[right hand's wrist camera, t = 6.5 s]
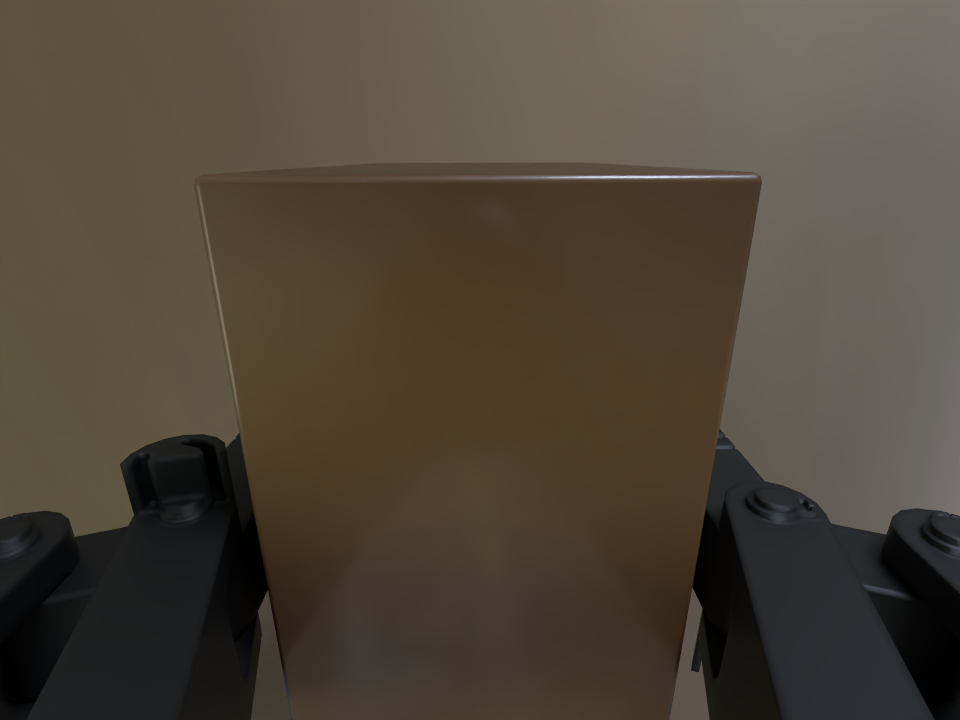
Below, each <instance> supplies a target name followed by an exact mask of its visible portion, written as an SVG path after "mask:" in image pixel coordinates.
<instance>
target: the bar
mask: <svg viewBox="0 0 960 720" xmlns="http://www.w3.org/2000/svg"><path fill="white" fill-rule="evenodd" d="M761 184H762V182H761V177H760V175H758V174H756V173H753V172H738V171H720V170H703V169H685V168H668V167H650V166H632V165H615V164H597V163H388V164H361V165H346V166H330V167H315V168H300V169H284V170H269V171H253V172H238V173H223V174H207V175H201V176H199V177H197V178H196V179H195V184H194V187H195V192H196V198H197V203H198V209H199V214H200V220H201V225H202V230H203V236H204V241H205V247H206V252H207V258H208V263H209V269H210V274H211V280H212V285H213V291H214V296H215V302H216V307H217V313H218V318H219V323H220V329H221V334H222V340H223V345H224V351H225V356H226V362H227V367H228V373H229V378H230V384H231V389H232V395H233V400H234V406H235V411H236V416H237V422H238V427H239V433H240V438H241V444H242V449H243V455H244V460H245V466H246V471H247V477H248V482H249V488H250V493H251V499H252V504H253V509H254V515H255V520H256V526H257V531H258V537H259V542H260V548H261V553H262V559H263V564H264V570H265V575H266V581H267V586H268V592H269V597H270V602H271V608H272V613H273V619H274V624H275V630H276V635H277V641H278V646H279V652H280V657H281V663H282V668H283V674H284V679H285V685H286V690H287V695H288V701H289V706H290V712H291V717H292V720H669V719H670V713H671V707H672V701H673V695H674V690H675V684H676V678H677V672H678V666H679V660H680V655H681V649H682V643H683V637H684V631H685V626H686V620H687V614H688V608H689V602H690V597H691V591H692V585H693V579H694V573H695V567H696V562H697V556H698V550H699V544H700V538H701V533H702V527H703V521H704V515H705V509H706V504H707V498H708V492H709V486H710V480H711V474H712V469H713V463H714V457H715V451H716V445H717V440H718V434H719V428H720V422H721V416H722V411H723V405H724V399H725V393H726V387H727V381H728V376H729V370H730V364H731V358H732V352H733V347H734V341H735V335H736V329H737V323H738V318H739V312H740V306H741V300H742V294H743V288H744V283H745V277H746V271H747V265H748V259H749V254H750V248H751V242H752V236H753V230H754V225H755V219H756V213H757V207H758V201H759V195H760V190H761Z"/></svg>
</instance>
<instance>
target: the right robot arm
mask: <svg viewBox="0 0 960 720" xmlns="http://www.w3.org/2000/svg"><path fill="white" fill-rule="evenodd" d="M120 466H121V470H122V474H123V477H124V481H125V484H126V488H127V491H128V495H129V498H130V502H131V505H132V509H133V512H134V516H133V518H132V520H131V522H130V524H129V526H127V527H123V528H119V529H114V530H109V531H104V532H98V533H93V534H88V535H83V536H78V537H75V536H74V533H73V530H72V527H71V524H70V521H69V519H68V518H67V517H65V516H64V515H63V514H61V513H57V512H49V511H40V512H32V513H22V514H17V515H13V517H10V516H9V517H6V518H3V519H0V720H250V719H251V712H252V704H253V697H254V689H255V682H256V674H257V667H258V659H259V652H260V644H261V637H262V633H261V625H260V619H259V614H258V610H259V607H260V605H261V603H262V601H263V599H264V597H265V595H266V593H267V591H268V586H267V581H266V575H265V570H264V564H263V559H262V553H261V548H260V542H259V537H258V531H257V526H256V520H255V515H254V509H253V504H252V499H251V493H250V488H249V482H248V477H247V471H246V466H245V460H244V455H243V449H242V444H241V438H240V433H239V434H238V435H237V436H236V440H233V441H232V442H231V443H230V444H229V446H228V447H227V448H226V447H225V443H224V442H223V441H221V440H220V439H218V438H217V437H213V436H208V435H203V434H201V435H182V436H177V437H172V438H167V439H163V440H161V441H158V442H155V443H152V444H149V445H146V446H145V447H143V448H141V449H139V450H137V451H136V452H134V453H132V454H130V455H129V456H128V457H127V458H126V459H125V460H124V461H123V462H122V463H121V464H120ZM692 587H693V589H694V591H695V593H696V595H697V597H698V600H699V602H700V604H701V606H702V608H703V609H702V614H701V619H700V625H699V630H698V635H697V640H696V645H695V650H694V655H693V661H692V668H691V671H696V672H699V668H700V663H701V660H702V666H703V673H704V681H705V688H706V695H707V703H708V710H709V718H710V720H960V516H957V515H954V514H951V515H950V514H948V513H947V512H942V511H937V510H935V511H934V510H925V509H917V508H916V509H908V510H901V511H900V512H898V513H897V514H896V515H894V516H893V517H892V520H891V523H890V526H889V529H888V532H887V535H885V534H880V533H875V532H870V531H865V530H859V529H854V528H849V527H844V526H839V525H835V524H831V523H830V521H829V519H828V517H827V515H826V514H825V513H824V511H823V510H822V509H821V508H820V507H819V506H818V504H817V503H815V502H814V501H812V500H811V499H809V498H808V497H806V496H805V495H803V494H802V493H800V492H797V491H795V490H792V489H790V488H788V487H785V486H783V485H778V484H774V483H769V482H765V481H764V480H763V479H762V478H761V476H760V475H759V474H758V473H757V472H756V471H755V469H754V468H753V467H752V466H751V465H750V464H749V462H748V461H747V460H746V459H745V458H744V457H743V455H742V454H741V453H740V452H739V451H738V450H737V449H735V446H734V445H733V444H732V443H731V441H730V440H729V439H728V438H725V434H724V433H723V432H722V431H721V430H720V429H719V434H718V440H717V445H716V451H715V457H714V463H713V469H712V474H711V480H710V486H709V492H708V498H707V504H706V509H705V515H704V521H703V527H702V533H701V538H700V544H699V550H698V556H697V562H696V567H695V573H694V579H693V585H692Z"/></svg>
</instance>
